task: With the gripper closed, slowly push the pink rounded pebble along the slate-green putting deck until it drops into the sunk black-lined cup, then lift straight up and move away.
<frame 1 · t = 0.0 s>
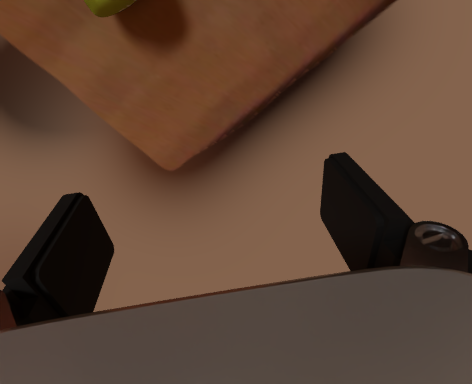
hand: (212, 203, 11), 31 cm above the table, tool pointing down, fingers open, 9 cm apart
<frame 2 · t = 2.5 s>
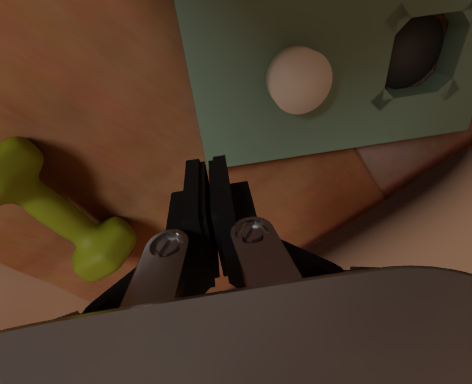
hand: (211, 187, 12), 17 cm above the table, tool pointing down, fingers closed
pink rounded pebble: (293, 76, 24), point 2 cm above the table, touching putting deck
putting deck: (337, 63, 26), on the table
dumbbell: (72, 193, 32), on the table
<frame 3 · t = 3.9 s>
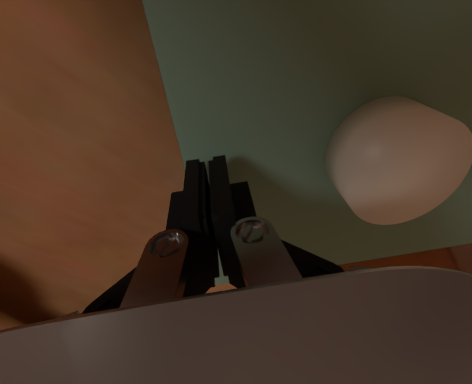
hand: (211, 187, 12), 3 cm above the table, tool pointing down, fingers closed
pink rounded pebble: (376, 149, 13), point 2 cm above the table, touching putting deck
putting deck: (441, 116, 15), on the table
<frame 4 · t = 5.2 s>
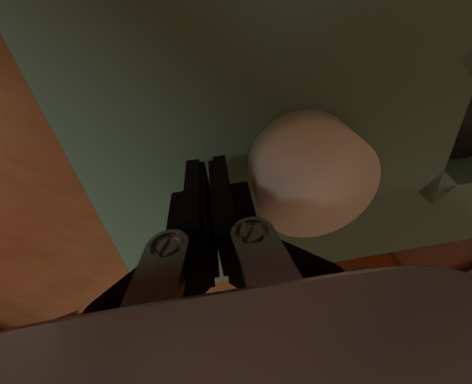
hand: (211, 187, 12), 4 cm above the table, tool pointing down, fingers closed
pink rounded pebble: (299, 161, 13), point 3 cm above the table
putting deck: (357, 124, 15), on the table
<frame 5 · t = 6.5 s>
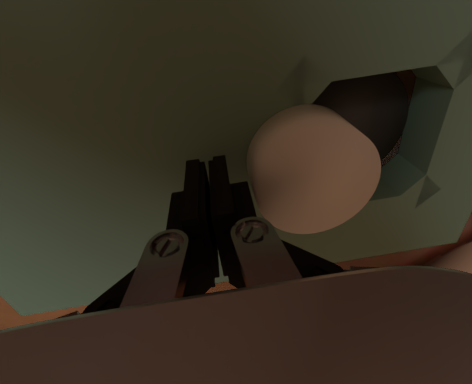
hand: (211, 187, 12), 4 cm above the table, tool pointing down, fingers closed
pink rounded pebble: (299, 157, 13), point 3 cm above the table, touching gripper
putting deck: (221, 147, 15), on the table
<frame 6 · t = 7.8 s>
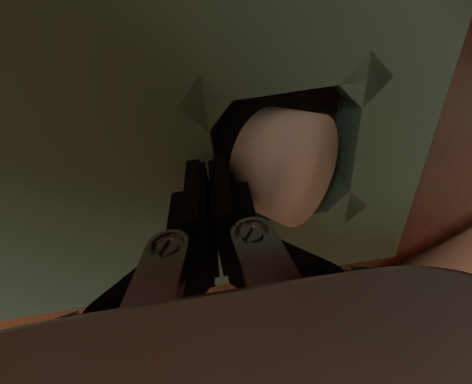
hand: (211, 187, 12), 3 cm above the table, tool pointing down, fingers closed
pink rounded pebble: (264, 159, 13), point 2 cm above the table, tilted 41°, touching gripper, putting deck
putting deck: (146, 161, 15), on the table
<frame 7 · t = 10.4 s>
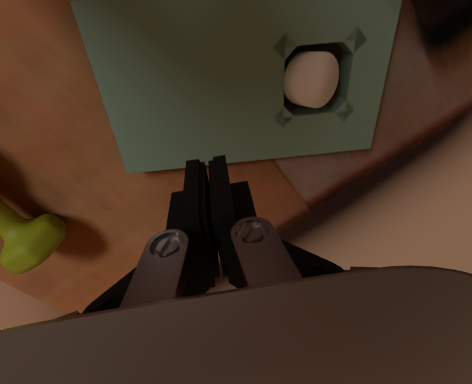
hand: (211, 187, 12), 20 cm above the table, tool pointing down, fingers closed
pink rounded pebble: (302, 78, 28), point 1 cm above the table, tilted 28°, touching putting deck
putting deck: (244, 82, 29), on the table
dumbbell: (7, 190, 34), on the table
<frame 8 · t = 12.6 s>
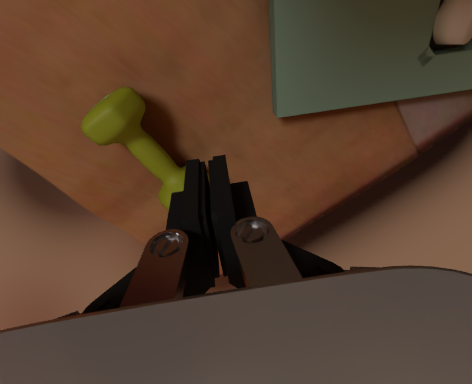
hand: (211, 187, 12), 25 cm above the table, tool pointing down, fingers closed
pink rounded pebble: (446, 19, 31), point 1 cm above the table, tilted 28°, touching putting deck
putting deck: (388, 26, 32), on the table
dumbbell: (156, 143, 37), on the table
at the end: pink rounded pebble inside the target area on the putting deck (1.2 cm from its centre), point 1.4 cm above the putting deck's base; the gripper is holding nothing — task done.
